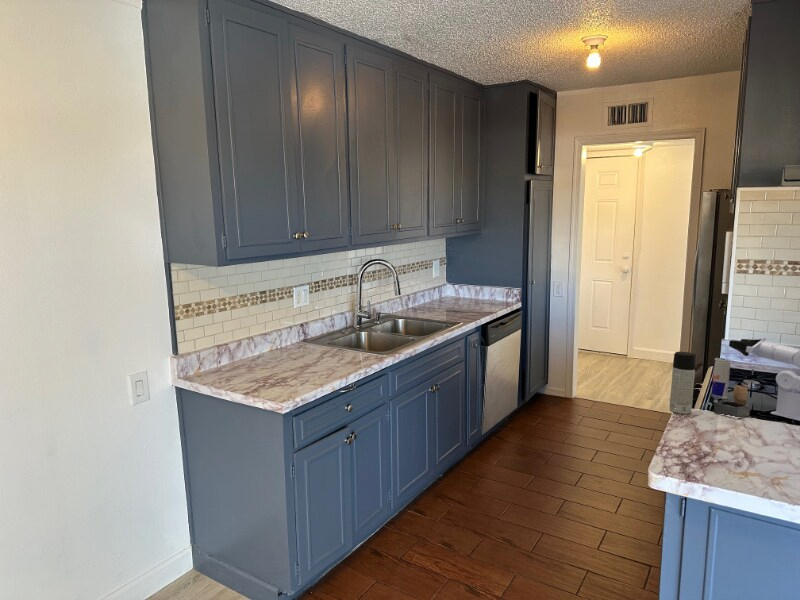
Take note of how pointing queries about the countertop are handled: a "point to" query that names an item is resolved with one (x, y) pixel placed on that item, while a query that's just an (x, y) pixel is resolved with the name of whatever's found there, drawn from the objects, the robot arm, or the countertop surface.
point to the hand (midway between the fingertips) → (735, 342)
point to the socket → (731, 408)
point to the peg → (740, 394)
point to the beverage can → (720, 378)
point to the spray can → (682, 382)
